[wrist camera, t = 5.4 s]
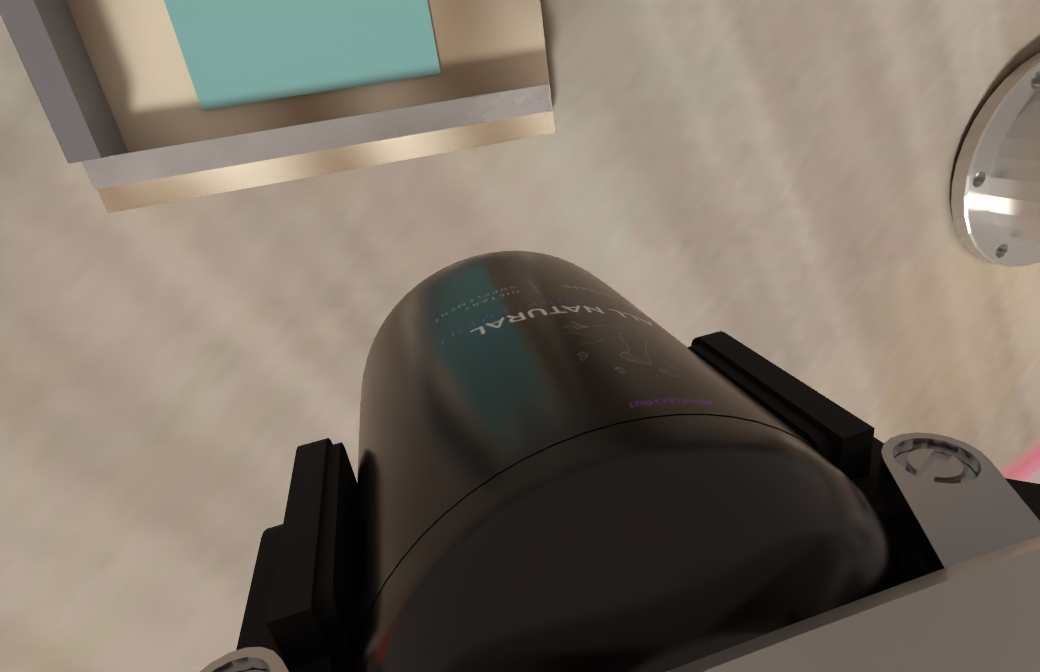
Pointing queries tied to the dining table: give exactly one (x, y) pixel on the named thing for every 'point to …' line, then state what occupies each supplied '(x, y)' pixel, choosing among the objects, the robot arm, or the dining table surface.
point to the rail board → (275, 86)
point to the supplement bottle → (580, 489)
